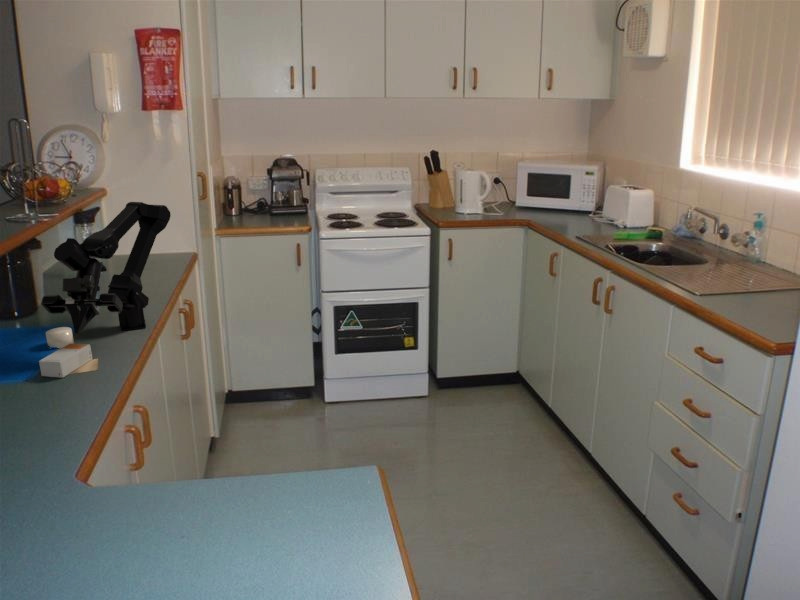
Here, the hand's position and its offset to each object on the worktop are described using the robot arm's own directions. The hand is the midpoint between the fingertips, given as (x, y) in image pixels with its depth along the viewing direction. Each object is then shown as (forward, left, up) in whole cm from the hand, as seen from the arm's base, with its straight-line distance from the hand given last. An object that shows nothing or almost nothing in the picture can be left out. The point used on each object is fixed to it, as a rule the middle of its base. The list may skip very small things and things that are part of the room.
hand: (76, 333), depth 176 cm
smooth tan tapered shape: (+1, +4, -8) cm, 9 cm away
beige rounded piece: (+6, -16, -8) cm, 18 cm away
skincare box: (0, -2, -5) cm, 6 cm away
